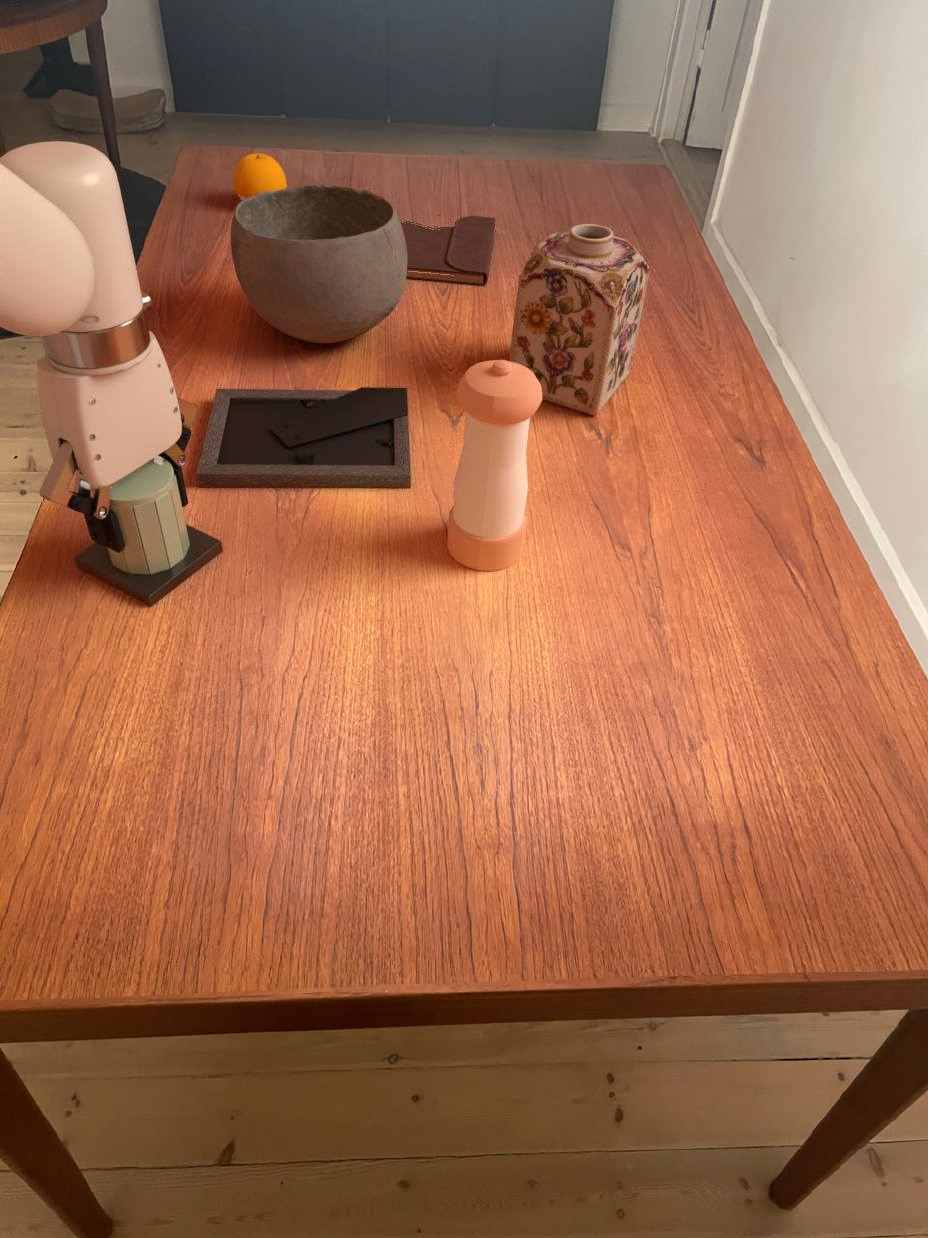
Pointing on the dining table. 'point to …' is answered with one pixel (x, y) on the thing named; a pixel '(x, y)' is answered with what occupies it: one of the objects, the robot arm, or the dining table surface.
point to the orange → (258, 175)
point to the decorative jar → (579, 315)
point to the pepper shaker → (492, 465)
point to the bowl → (319, 260)
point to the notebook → (451, 250)
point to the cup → (149, 519)
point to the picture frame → (307, 439)
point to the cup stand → (149, 585)
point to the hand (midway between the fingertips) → (142, 521)
